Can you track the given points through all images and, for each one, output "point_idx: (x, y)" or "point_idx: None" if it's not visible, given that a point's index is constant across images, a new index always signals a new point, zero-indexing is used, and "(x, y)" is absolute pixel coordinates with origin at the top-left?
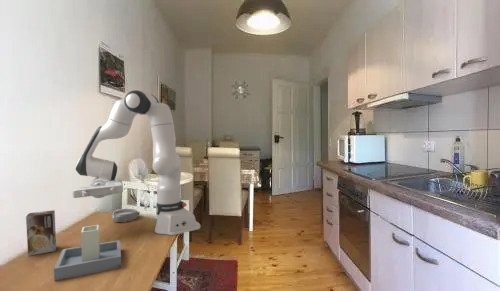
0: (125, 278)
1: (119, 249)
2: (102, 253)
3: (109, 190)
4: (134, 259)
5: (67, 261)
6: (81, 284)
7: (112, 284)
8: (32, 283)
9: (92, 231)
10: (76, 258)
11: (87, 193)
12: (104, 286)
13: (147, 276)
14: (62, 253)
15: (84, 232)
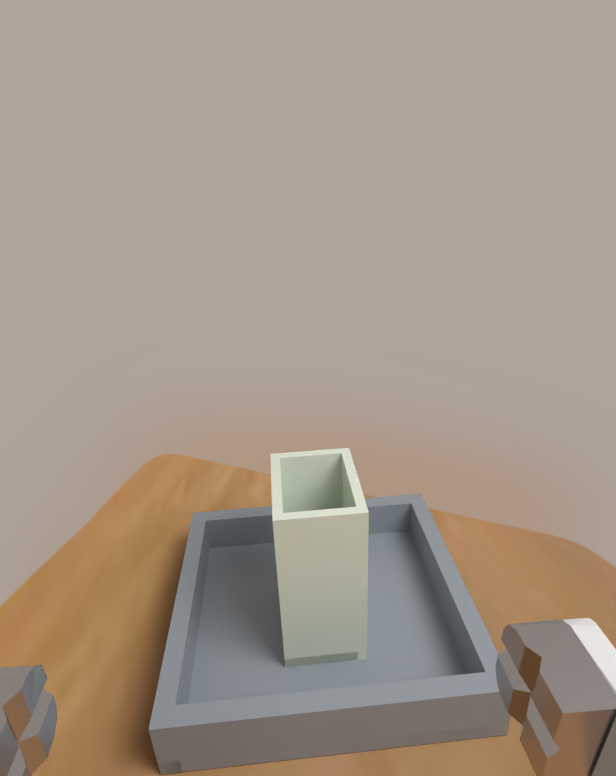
0: (200, 488)
1: (184, 576)
2: (272, 688)
3: (14, 669)
4: (132, 598)
5: (440, 642)
6: None
7: (237, 473)
8: (488, 534)
9: (297, 455)
10: (406, 666)
11: (508, 634)
12: (257, 471)
13: (141, 482)
14: (472, 619)
15: (333, 451)
